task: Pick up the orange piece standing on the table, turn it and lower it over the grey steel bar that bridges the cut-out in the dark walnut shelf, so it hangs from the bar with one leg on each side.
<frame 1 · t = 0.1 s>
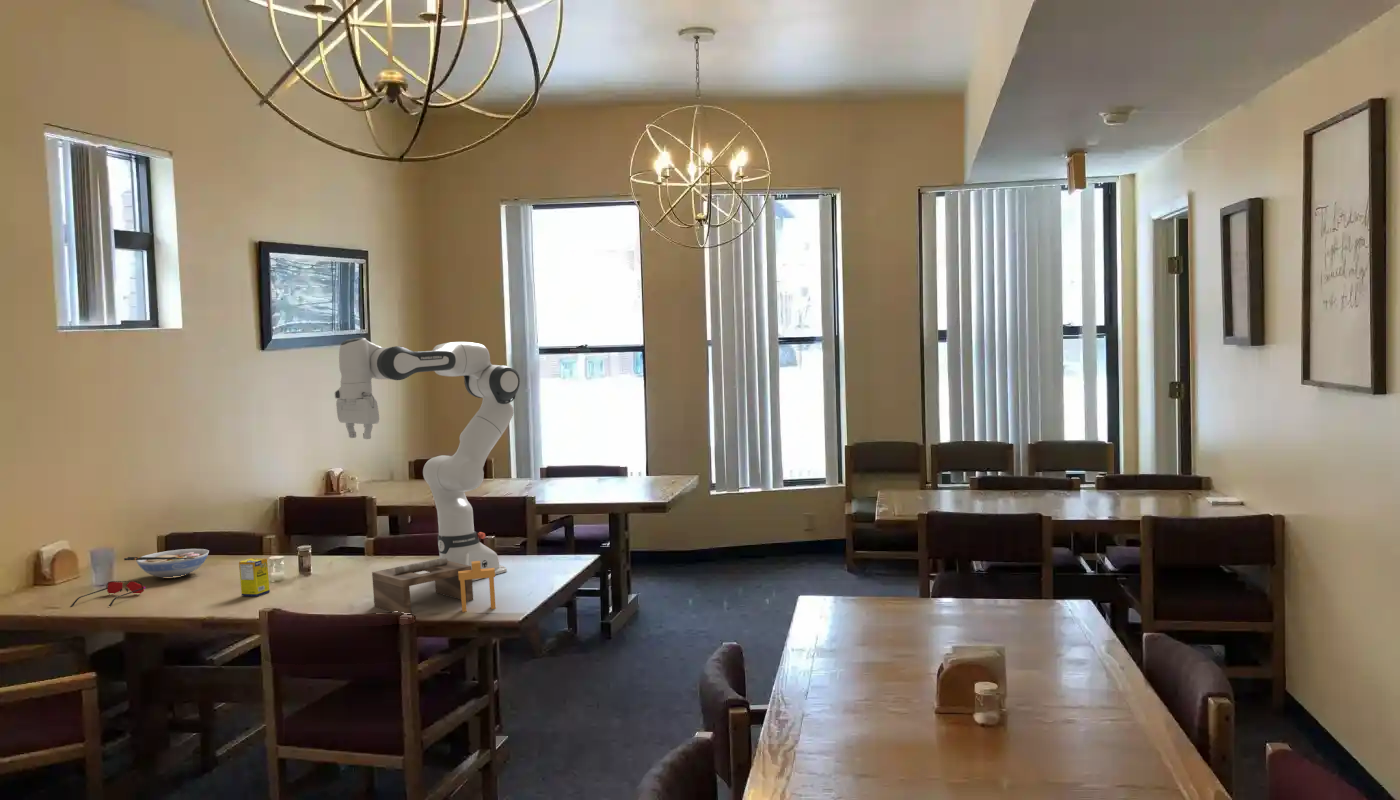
hand: (359, 438, 330), 48 cm above the table, fingers open, 8 cm apart
orange piece: (478, 609, 310), on the table
ramen bowl: (174, 577, 377), on the table
shelf: (423, 603, 320), on the table
glasses: (109, 602, 344), on the table
supplement box: (255, 595, 343), on the table
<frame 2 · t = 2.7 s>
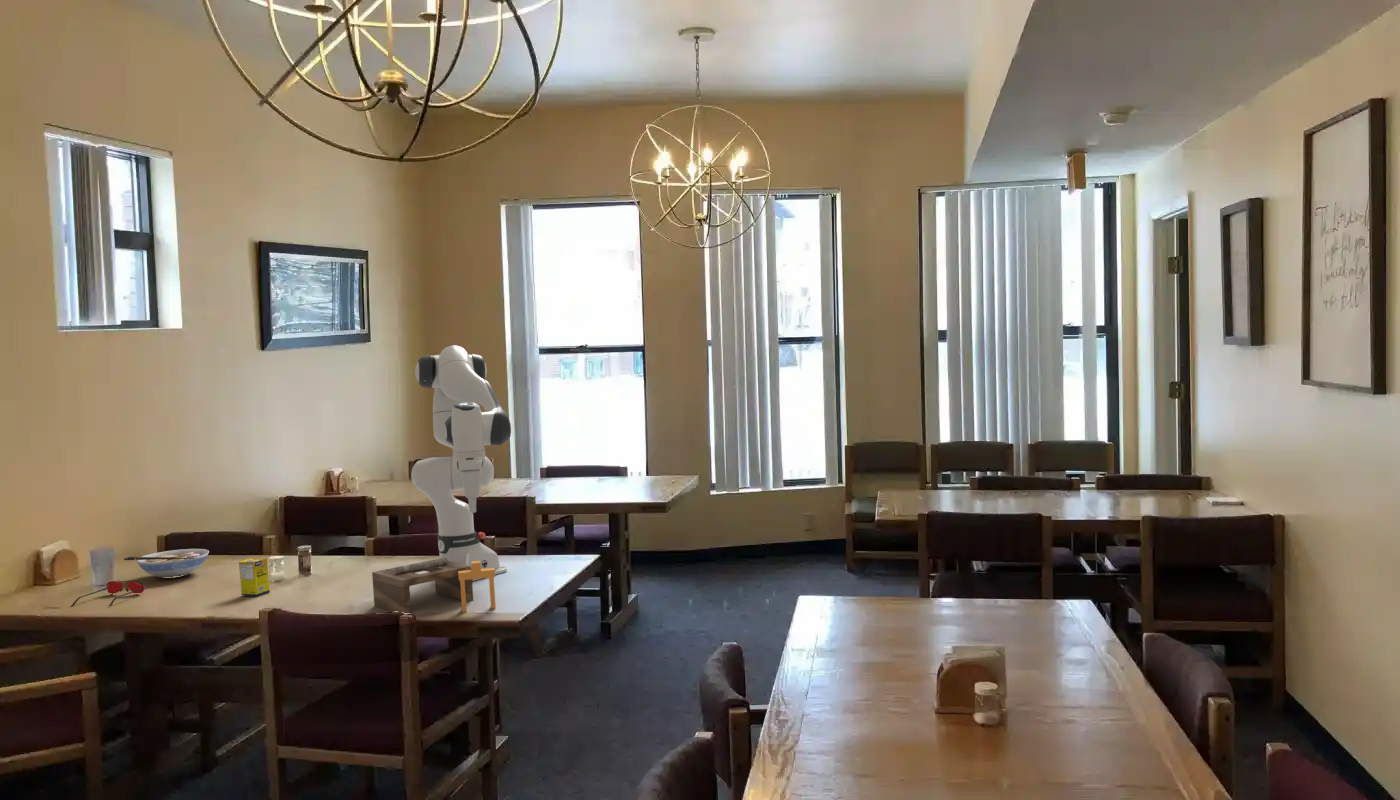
hand: (472, 509, 308), 28 cm above the table, fingers open, 8 cm apart
nothing on the table moved.
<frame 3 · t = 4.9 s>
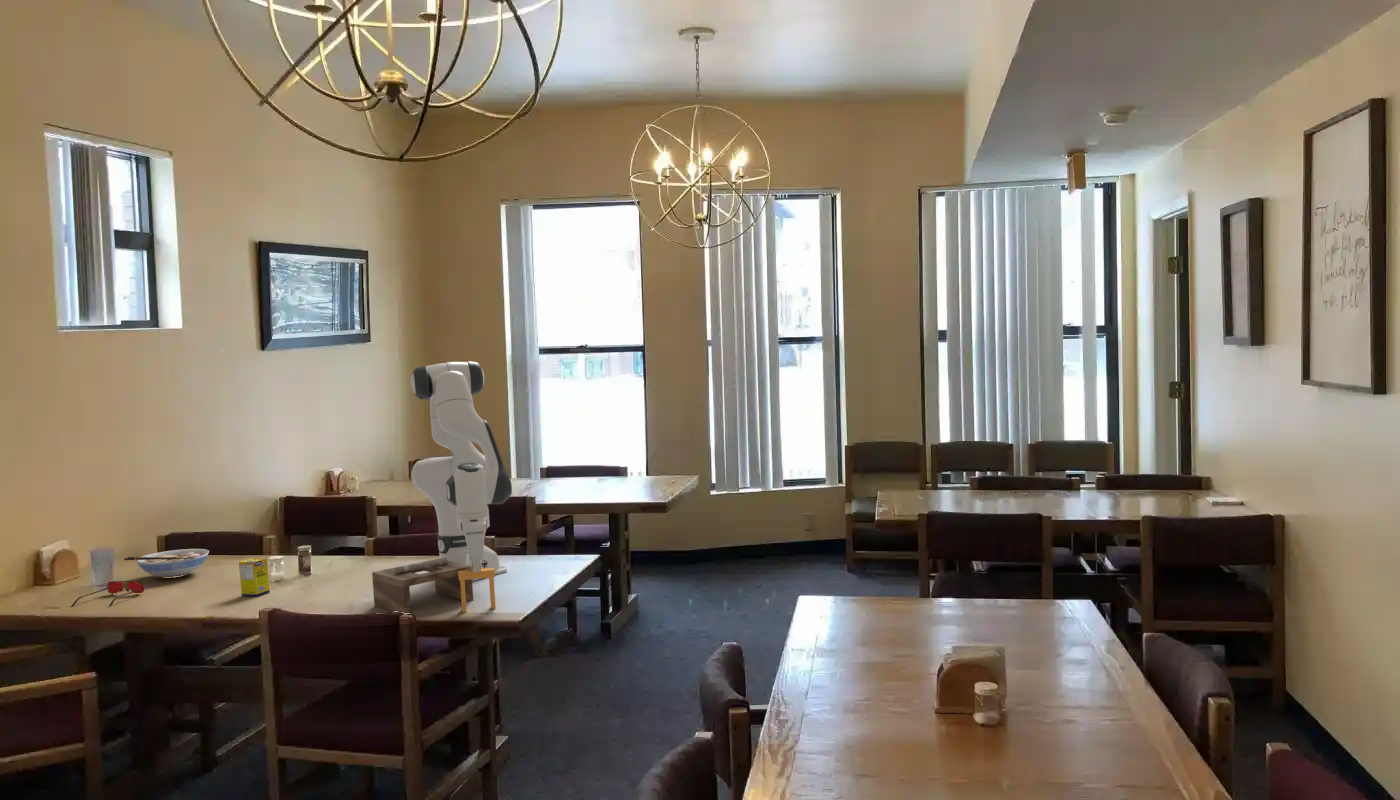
hand: (476, 570, 309), 11 cm above the table, fingers closed on orange piece, 3 cm apart
orange piece: (478, 609, 310), on the table, touching gripper
everything else where it was.
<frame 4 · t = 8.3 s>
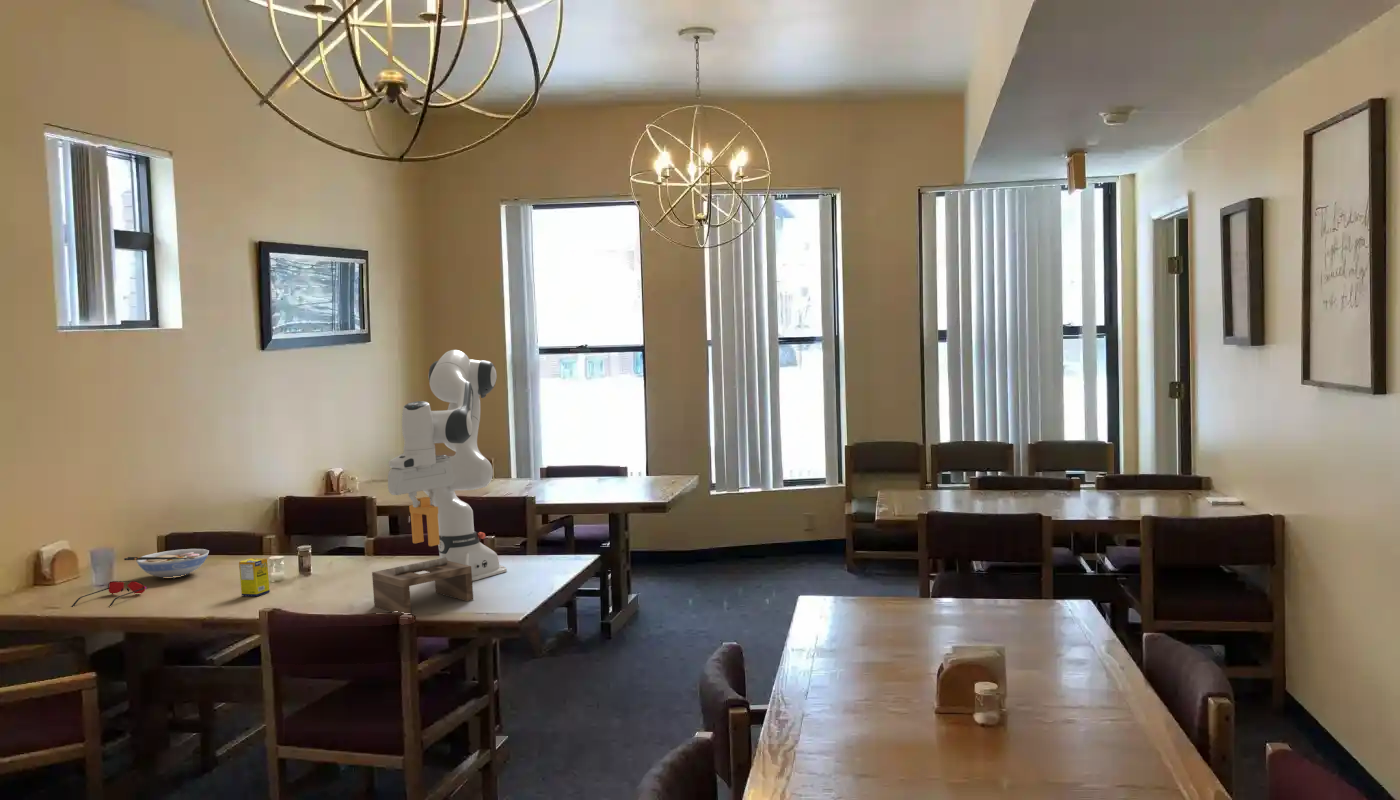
hand: (423, 505, 318), 29 cm above the table, fingers closed on orange piece, 3 cm apart
orange piece: (426, 543, 319), point 17 cm above the table, touching gripper
everything else where it was.
when the fingers open (16 cm above the table, at t = 11.8 s): orange piece drops 1 cm, resting on shelf.
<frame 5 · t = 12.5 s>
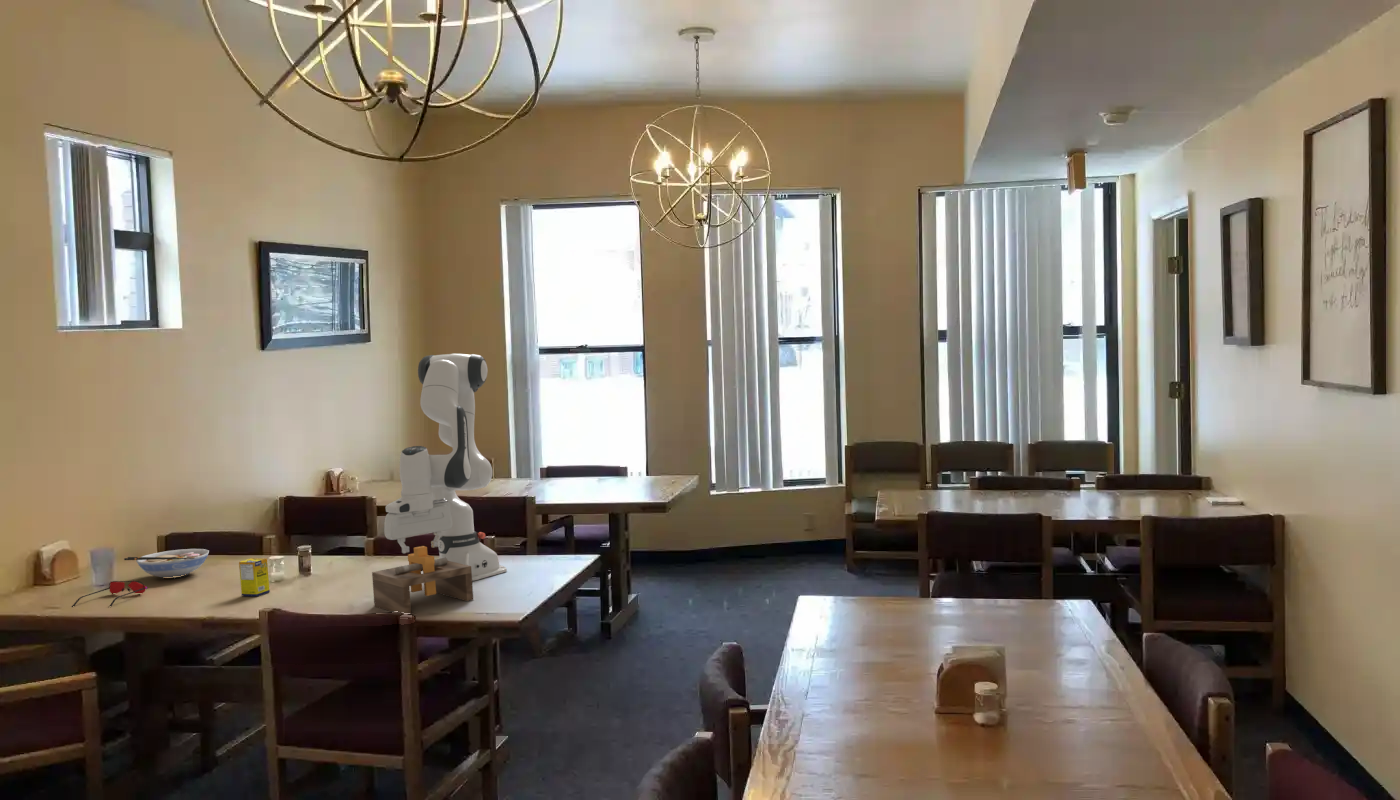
hand: (420, 550, 319), 16 cm above the table, fingers open, 8 cm apart
orange piece: (423, 592, 320), point 3 cm above the table, touching shelf
everything else where it was.
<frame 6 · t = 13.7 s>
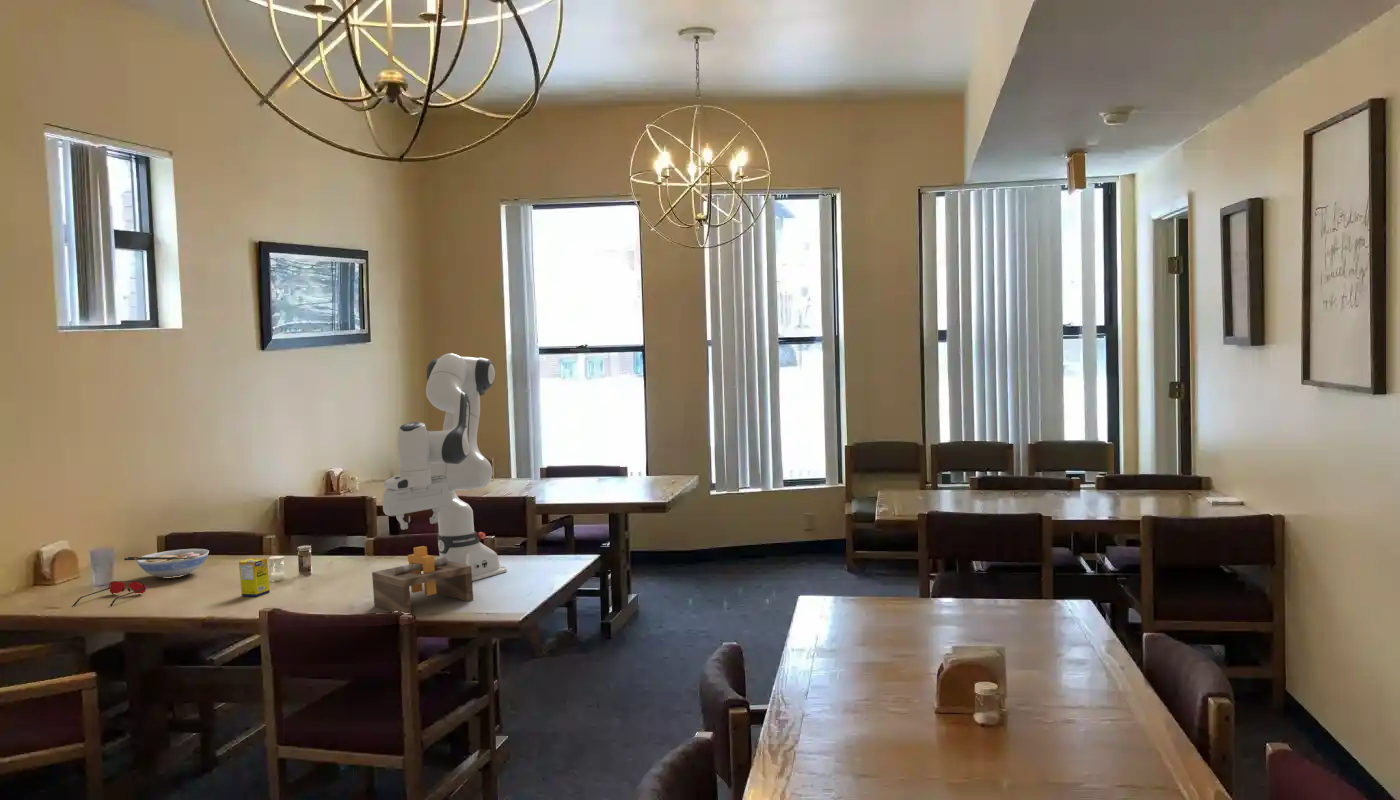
hand: (419, 526, 319), 23 cm above the table, fingers open, 8 cm apart
nothing on the table moved.
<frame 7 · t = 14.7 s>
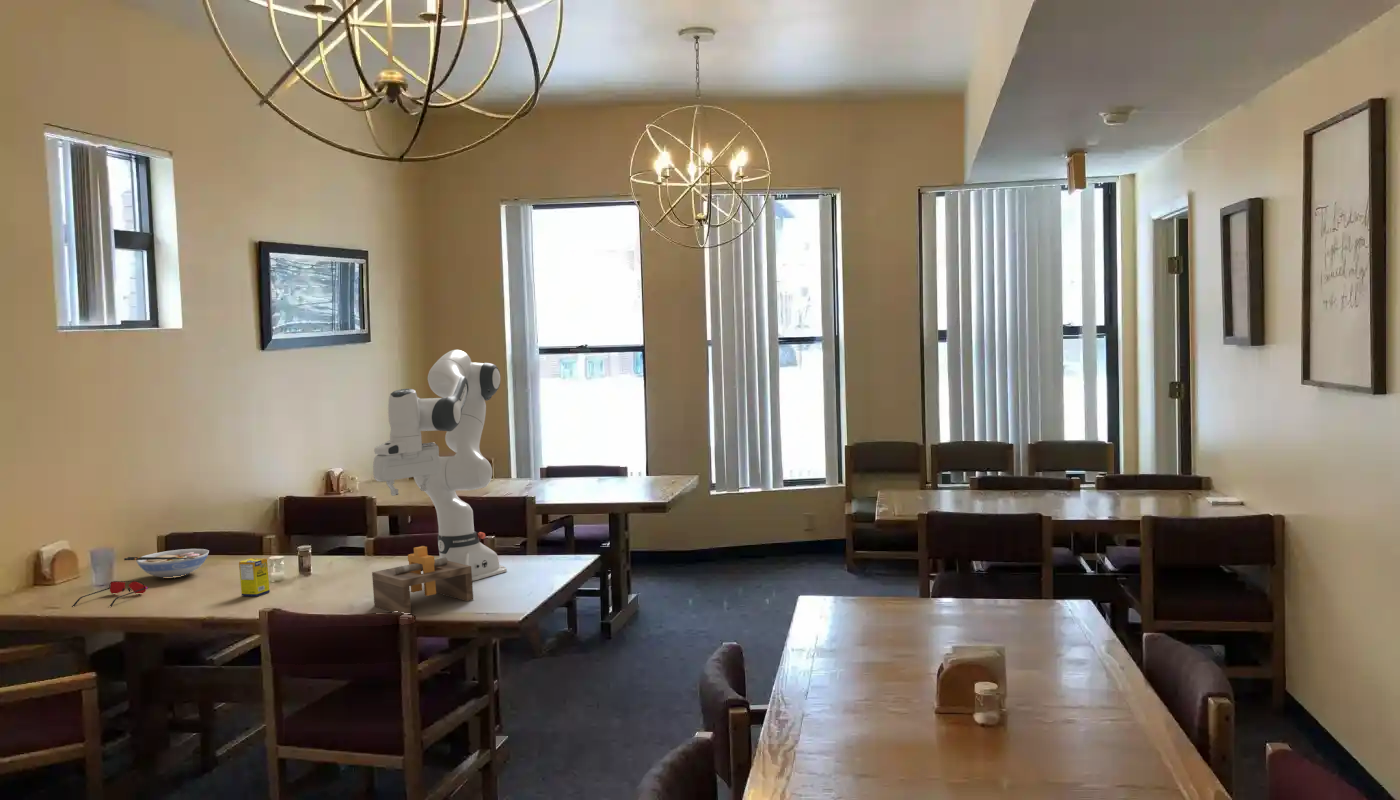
hand: (409, 492, 319), 32 cm above the table, fingers open, 8 cm apart
nothing on the table moved.
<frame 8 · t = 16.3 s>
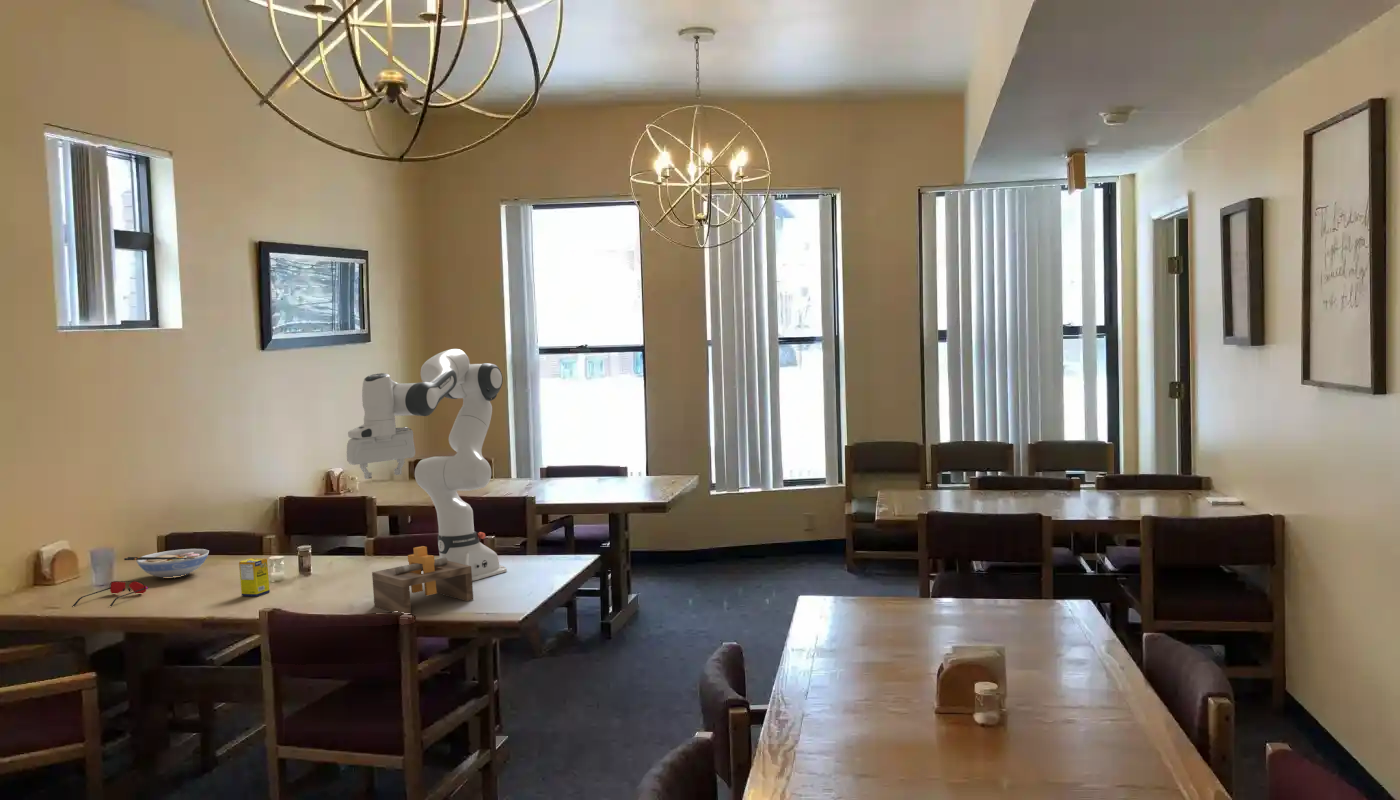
hand: (383, 476, 322), 37 cm above the table, fingers open, 8 cm apart
nothing on the table moved.
at the end: orange piece 0.1 cm off-centre on the shelf, point 3.0 cm above the shelf's base; orange piece touching shelf; the gripper is holding nothing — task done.
